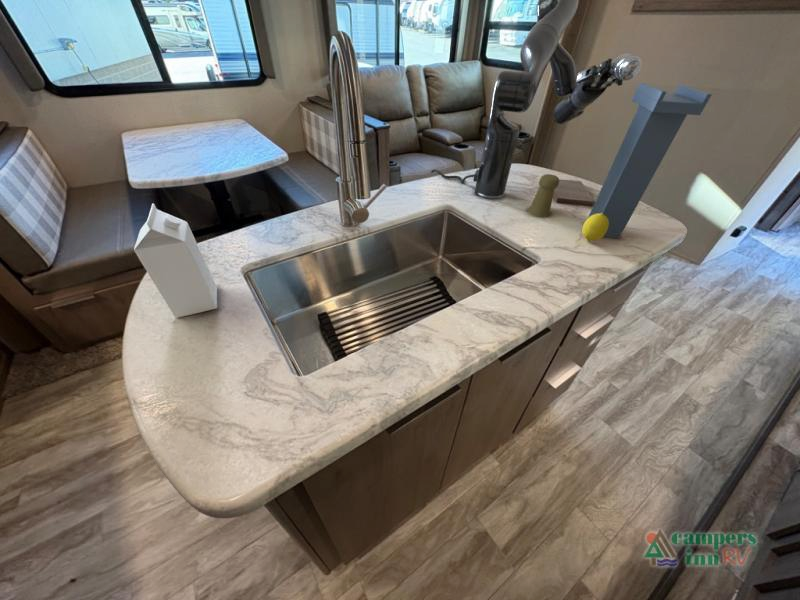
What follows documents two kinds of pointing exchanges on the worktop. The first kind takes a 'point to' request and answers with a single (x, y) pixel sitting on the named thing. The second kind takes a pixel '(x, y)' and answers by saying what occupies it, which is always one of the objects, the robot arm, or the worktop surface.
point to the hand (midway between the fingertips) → (615, 62)
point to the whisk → (625, 67)
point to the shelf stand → (644, 150)
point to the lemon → (595, 227)
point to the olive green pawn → (544, 196)
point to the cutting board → (572, 193)
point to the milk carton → (176, 264)
